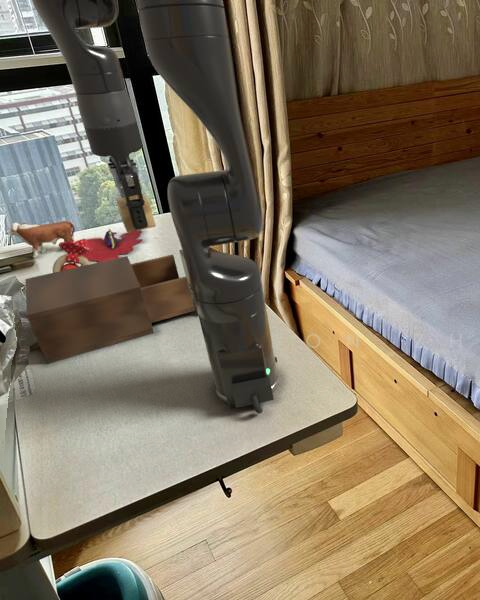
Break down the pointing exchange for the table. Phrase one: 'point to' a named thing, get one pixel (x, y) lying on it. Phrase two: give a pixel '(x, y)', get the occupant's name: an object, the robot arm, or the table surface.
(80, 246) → the bird rattle
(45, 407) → the table surface
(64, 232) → the bull figurine
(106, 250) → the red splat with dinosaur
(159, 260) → the drawer
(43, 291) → the cabinet
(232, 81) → the robot arm
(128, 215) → the beech block
